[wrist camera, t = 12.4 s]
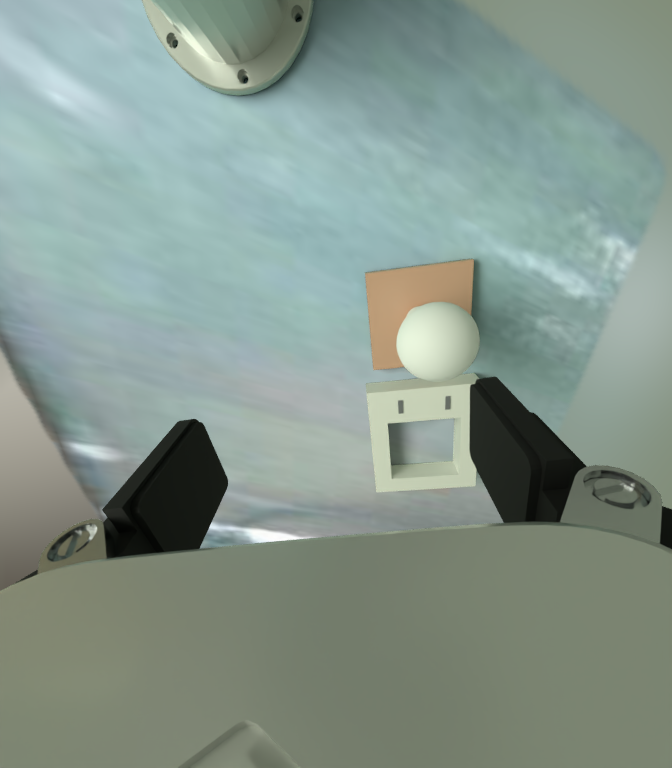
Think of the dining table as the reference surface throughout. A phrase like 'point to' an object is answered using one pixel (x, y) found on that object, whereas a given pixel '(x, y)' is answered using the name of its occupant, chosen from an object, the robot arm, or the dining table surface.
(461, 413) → the slotted square frame
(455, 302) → the tile
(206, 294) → the dining table surface
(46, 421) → the dining table surface
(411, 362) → the lightbulb
